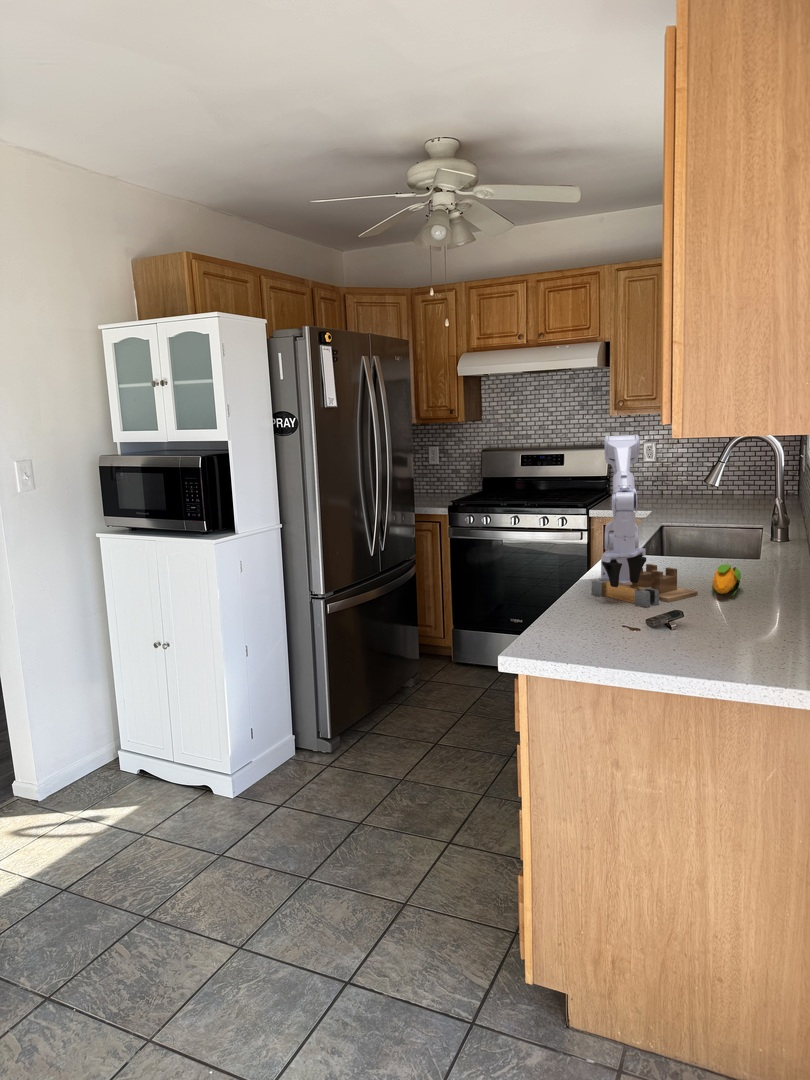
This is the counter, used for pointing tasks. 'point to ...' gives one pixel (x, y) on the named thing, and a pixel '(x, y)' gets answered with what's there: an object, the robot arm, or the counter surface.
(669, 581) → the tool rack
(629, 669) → the counter surface
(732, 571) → the corn
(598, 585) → the spanner
